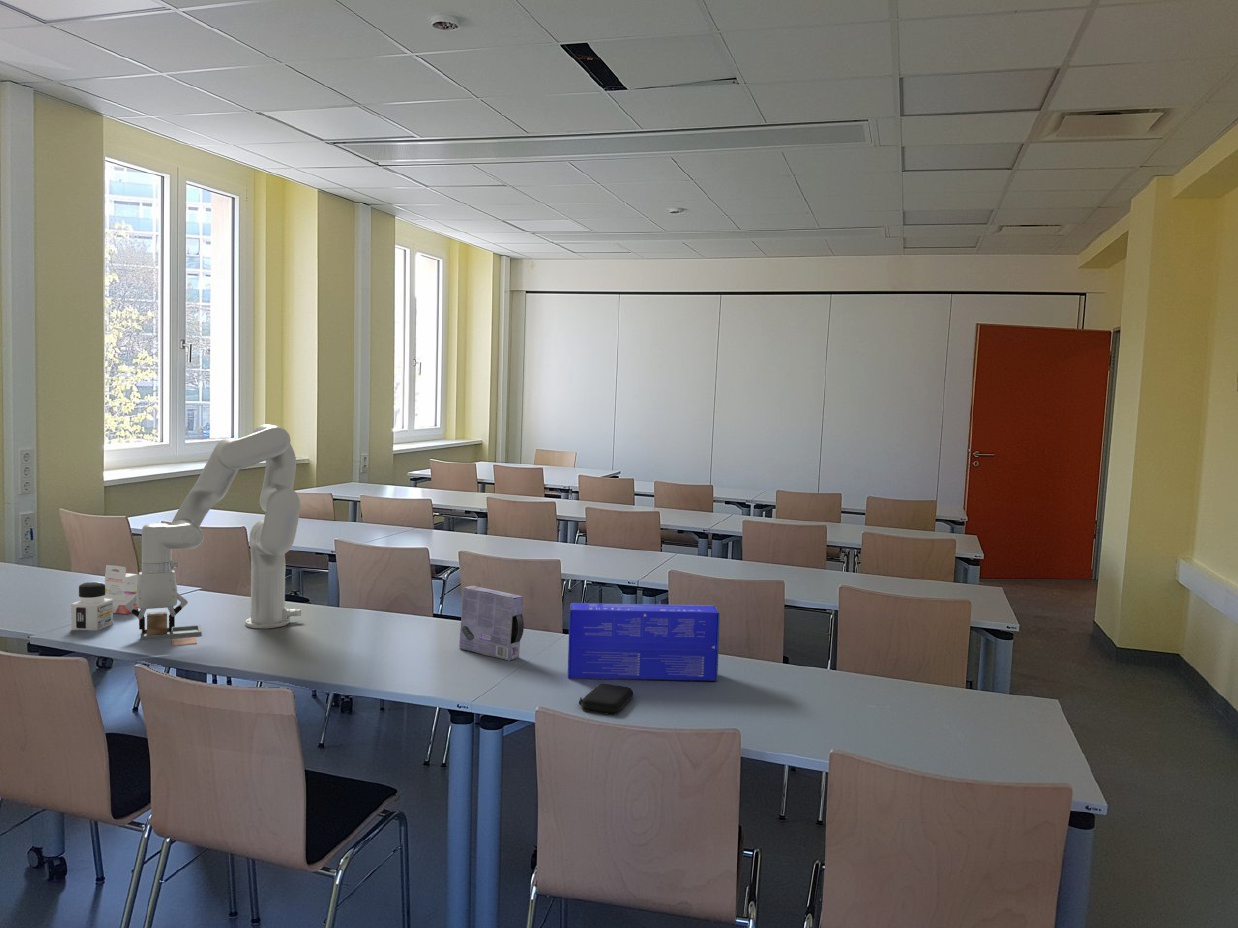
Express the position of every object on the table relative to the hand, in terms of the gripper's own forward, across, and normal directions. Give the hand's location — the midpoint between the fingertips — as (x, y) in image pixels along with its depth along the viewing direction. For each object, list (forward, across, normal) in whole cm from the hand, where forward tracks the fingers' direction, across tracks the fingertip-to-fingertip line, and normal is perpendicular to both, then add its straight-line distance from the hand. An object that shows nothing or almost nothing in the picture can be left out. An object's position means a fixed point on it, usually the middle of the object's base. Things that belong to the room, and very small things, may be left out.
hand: (157, 630), depth 247 cm
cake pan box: (+2, -82, +48) cm, 95 cm away
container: (+2, +16, -16) cm, 23 cm away
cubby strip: (+2, -4, 0) cm, 4 cm away
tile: (+2, -7, +10) cm, 12 cm away
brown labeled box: (+1, 0, 0) cm, 1 cm away
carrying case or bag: (+2, -93, +95) cm, 133 cm away
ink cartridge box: (+2, +9, -33) cm, 34 cm away
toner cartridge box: (+2, -112, +80) cm, 137 cm away
